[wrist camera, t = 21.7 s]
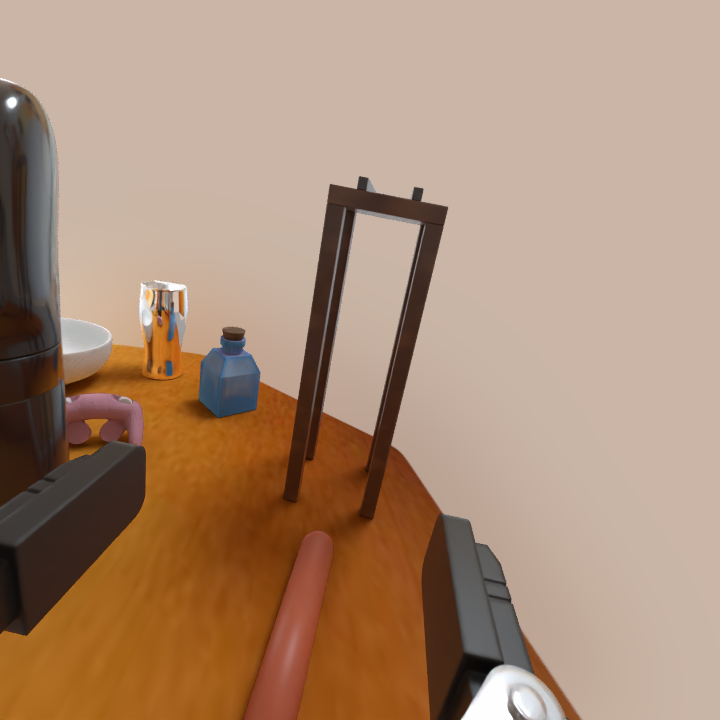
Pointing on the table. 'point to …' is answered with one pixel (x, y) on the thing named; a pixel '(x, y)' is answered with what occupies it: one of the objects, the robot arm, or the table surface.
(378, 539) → the table surface
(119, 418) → the video game controller
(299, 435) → the shelf stand
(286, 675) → the sausage
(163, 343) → the silver metal tumbler
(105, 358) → the cereal bowl
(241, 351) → the perfume bottle
